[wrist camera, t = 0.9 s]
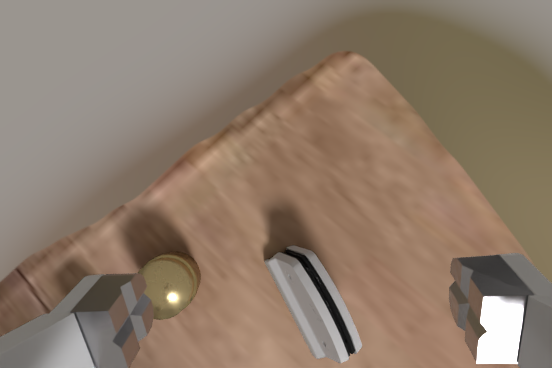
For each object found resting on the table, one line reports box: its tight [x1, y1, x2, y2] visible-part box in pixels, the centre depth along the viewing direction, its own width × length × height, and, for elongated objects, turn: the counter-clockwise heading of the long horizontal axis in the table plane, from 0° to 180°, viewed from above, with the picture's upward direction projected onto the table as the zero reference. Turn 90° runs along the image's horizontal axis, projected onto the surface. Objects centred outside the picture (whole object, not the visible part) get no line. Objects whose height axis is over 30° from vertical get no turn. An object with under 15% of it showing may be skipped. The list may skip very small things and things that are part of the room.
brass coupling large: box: [138, 252, 201, 320], centre depth 52 cm, size 8×8×7 cm
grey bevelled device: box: [264, 245, 362, 363], centre depth 51 cm, size 17×5×10 cm, turn 27°
